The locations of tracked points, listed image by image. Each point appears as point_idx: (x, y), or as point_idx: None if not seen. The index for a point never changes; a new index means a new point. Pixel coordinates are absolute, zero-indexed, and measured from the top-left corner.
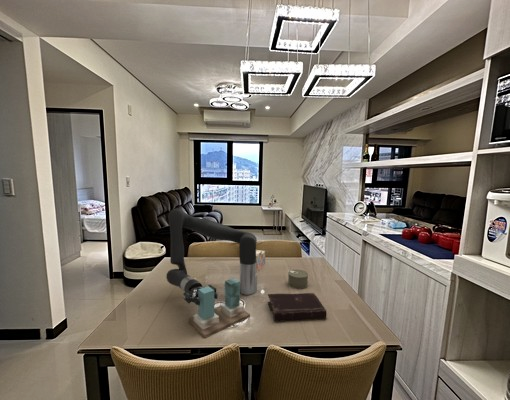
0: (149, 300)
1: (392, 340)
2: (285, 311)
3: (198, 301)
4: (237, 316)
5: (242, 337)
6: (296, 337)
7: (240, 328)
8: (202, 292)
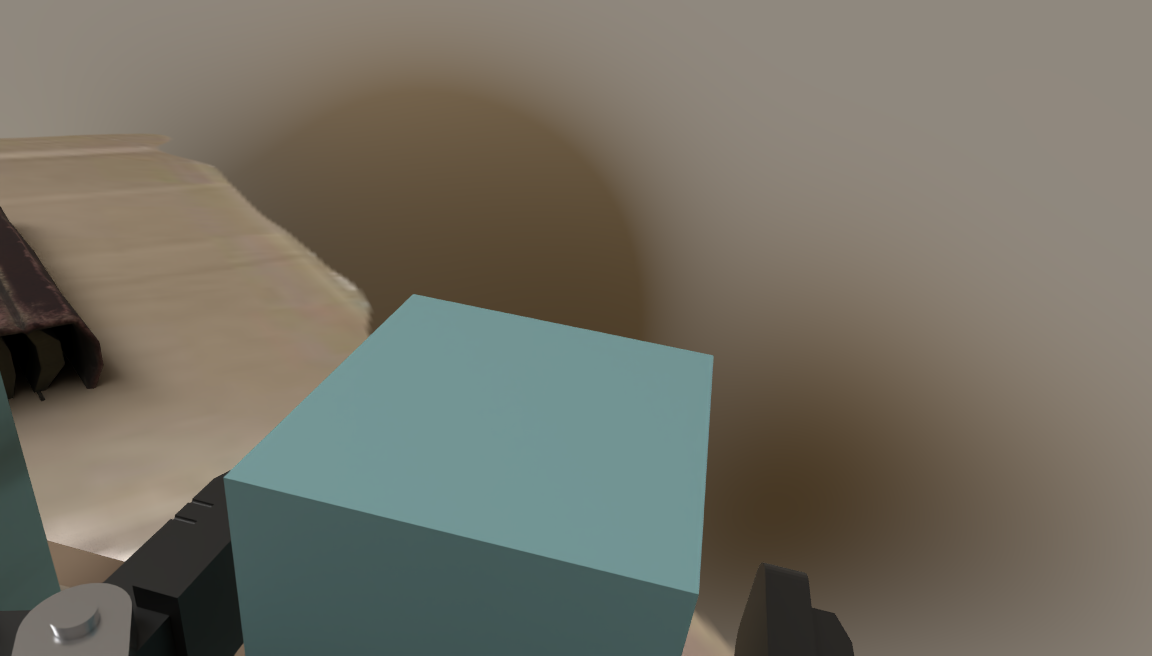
0: None
1: (158, 135)
2: (19, 280)
3: (802, 576)
4: None
5: None
6: (270, 285)
7: None
8: (709, 400)
